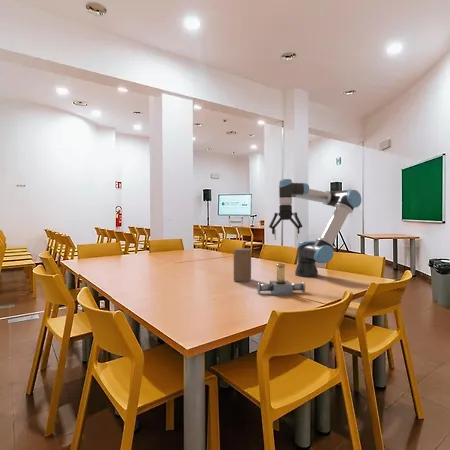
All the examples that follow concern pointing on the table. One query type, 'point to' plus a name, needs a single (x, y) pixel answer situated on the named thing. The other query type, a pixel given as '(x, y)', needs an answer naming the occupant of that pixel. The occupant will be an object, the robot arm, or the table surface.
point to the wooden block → (242, 264)
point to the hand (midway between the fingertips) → (285, 239)
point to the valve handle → (280, 273)
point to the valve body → (281, 288)
